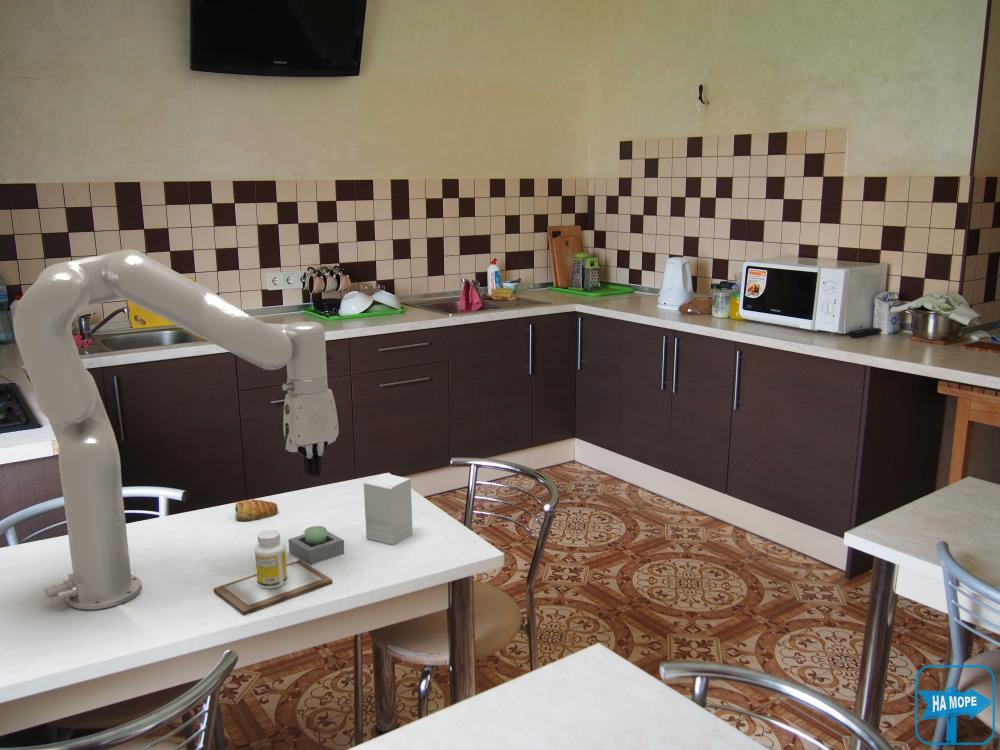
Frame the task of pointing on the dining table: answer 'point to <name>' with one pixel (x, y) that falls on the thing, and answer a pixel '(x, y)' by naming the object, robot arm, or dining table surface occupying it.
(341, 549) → the button housing
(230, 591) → the board
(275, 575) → the supplement bottle
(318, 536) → the button
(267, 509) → the pastry
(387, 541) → the supplement box
